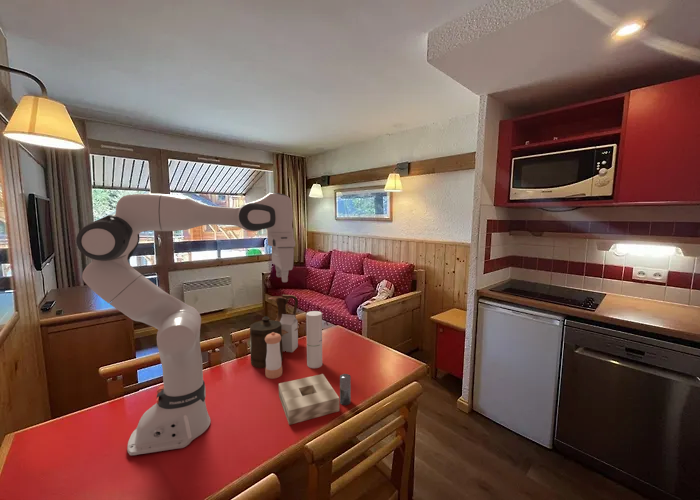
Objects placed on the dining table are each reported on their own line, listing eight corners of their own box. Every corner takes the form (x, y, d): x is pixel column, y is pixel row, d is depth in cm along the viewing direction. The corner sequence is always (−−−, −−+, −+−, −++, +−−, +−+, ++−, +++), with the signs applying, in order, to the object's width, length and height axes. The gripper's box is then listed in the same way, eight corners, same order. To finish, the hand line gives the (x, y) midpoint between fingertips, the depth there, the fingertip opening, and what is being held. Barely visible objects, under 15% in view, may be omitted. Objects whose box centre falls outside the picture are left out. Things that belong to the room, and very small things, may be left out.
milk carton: (292, 353, 151) (291, 317, 149) (279, 351, 153) (278, 316, 151) (298, 347, 158) (297, 313, 156) (285, 346, 160) (285, 312, 158)
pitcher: (298, 338, 170) (297, 290, 167) (302, 350, 154) (301, 297, 151) (266, 342, 164) (264, 292, 162) (267, 355, 148) (266, 300, 145)
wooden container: (264, 352, 153) (263, 310, 150) (288, 357, 147) (287, 314, 145) (243, 365, 139) (242, 319, 137) (269, 371, 133) (268, 324, 131)
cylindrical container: (325, 364, 140) (325, 312, 138) (315, 370, 134) (315, 316, 132) (313, 360, 144) (313, 310, 142) (303, 366, 138) (303, 314, 136)
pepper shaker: (285, 374, 131) (284, 332, 129) (271, 380, 125) (270, 337, 123) (275, 368, 136) (274, 328, 134) (262, 375, 130) (260, 332, 128)
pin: (342, 406, 108) (342, 380, 107) (338, 400, 112) (338, 375, 111) (352, 403, 110) (352, 378, 109) (348, 397, 113) (348, 372, 112)
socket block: (289, 424, 98) (288, 410, 98) (278, 395, 115) (278, 383, 114) (339, 410, 105) (339, 397, 105) (323, 385, 122) (322, 373, 121)
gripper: (267, 238, 111) (268, 275, 113) (276, 242, 93) (278, 285, 94) (283, 238, 114) (284, 273, 115) (296, 241, 95) (297, 284, 97)
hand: (281, 279), depth 105 cm, fingers open, 8 cm apart
